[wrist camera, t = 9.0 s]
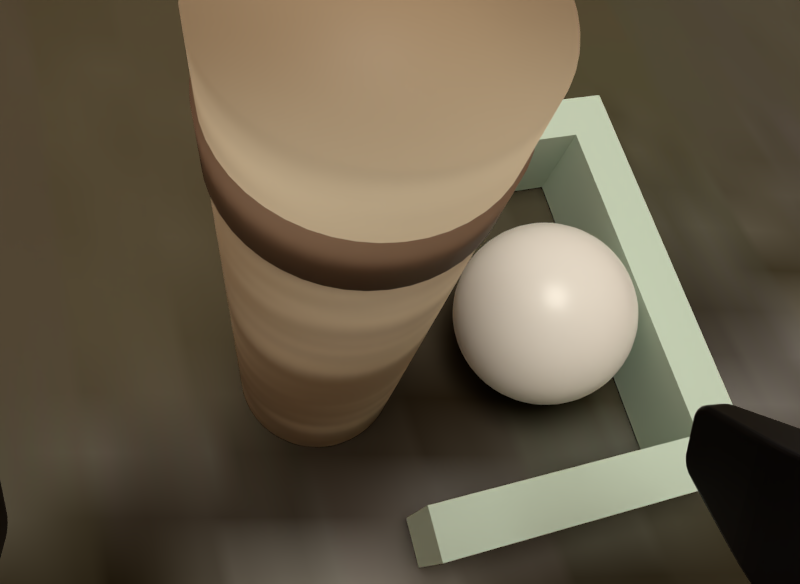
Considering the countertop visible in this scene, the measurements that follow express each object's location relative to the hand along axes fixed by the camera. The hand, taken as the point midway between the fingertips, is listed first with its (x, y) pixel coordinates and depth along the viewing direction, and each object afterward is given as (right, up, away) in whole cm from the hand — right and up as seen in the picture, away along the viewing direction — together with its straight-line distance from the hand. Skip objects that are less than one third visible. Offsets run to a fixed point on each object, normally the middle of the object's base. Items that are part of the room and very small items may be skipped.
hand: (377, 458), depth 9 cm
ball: (+4, +2, +9) cm, 10 cm away
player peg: (-2, 0, +10) cm, 10 cm away
